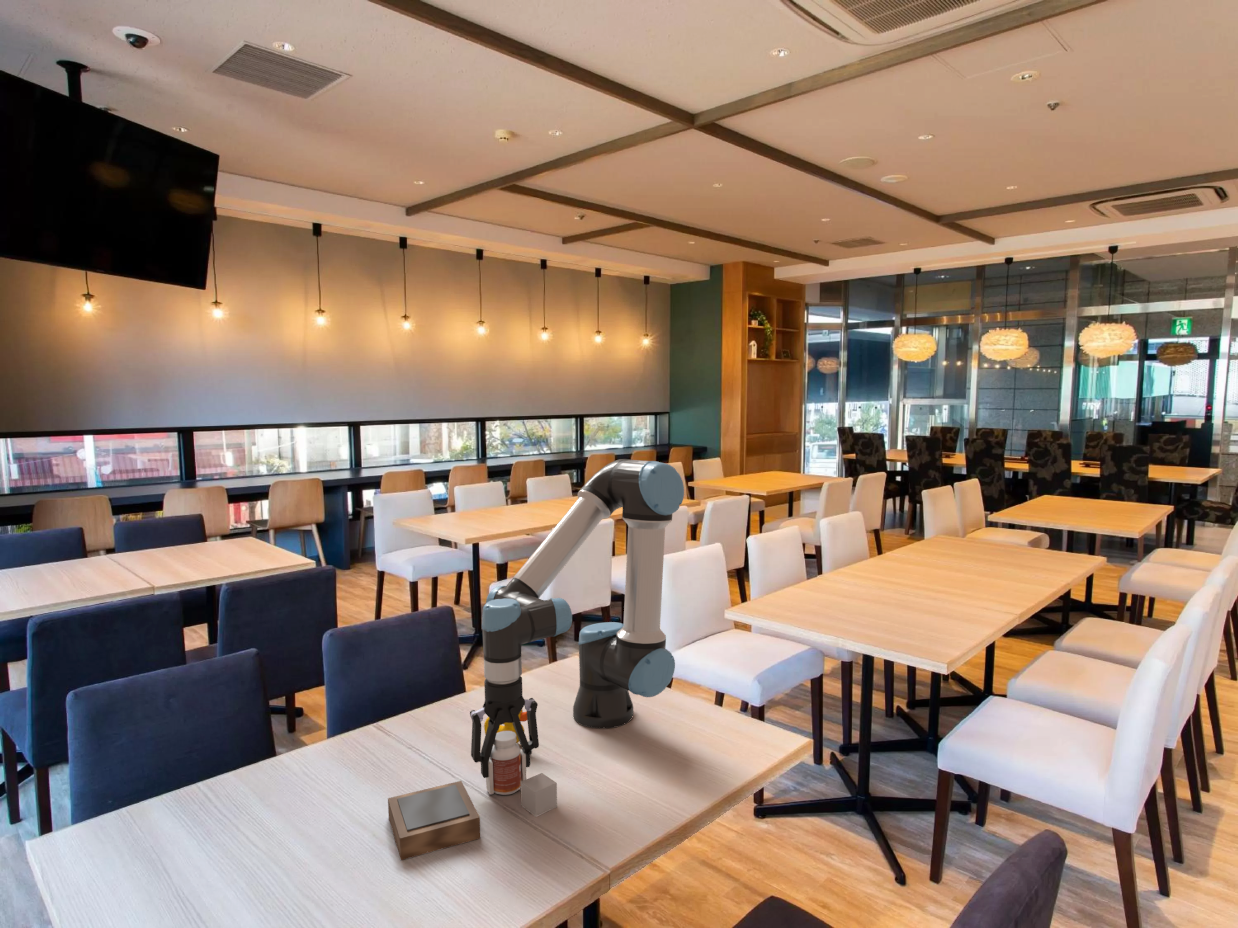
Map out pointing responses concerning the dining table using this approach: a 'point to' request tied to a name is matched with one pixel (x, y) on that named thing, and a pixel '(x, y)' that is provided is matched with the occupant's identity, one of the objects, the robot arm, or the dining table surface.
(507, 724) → the duckling
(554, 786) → the stone block
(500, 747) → the pill bottle
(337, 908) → the dining table surface
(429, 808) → the podium
